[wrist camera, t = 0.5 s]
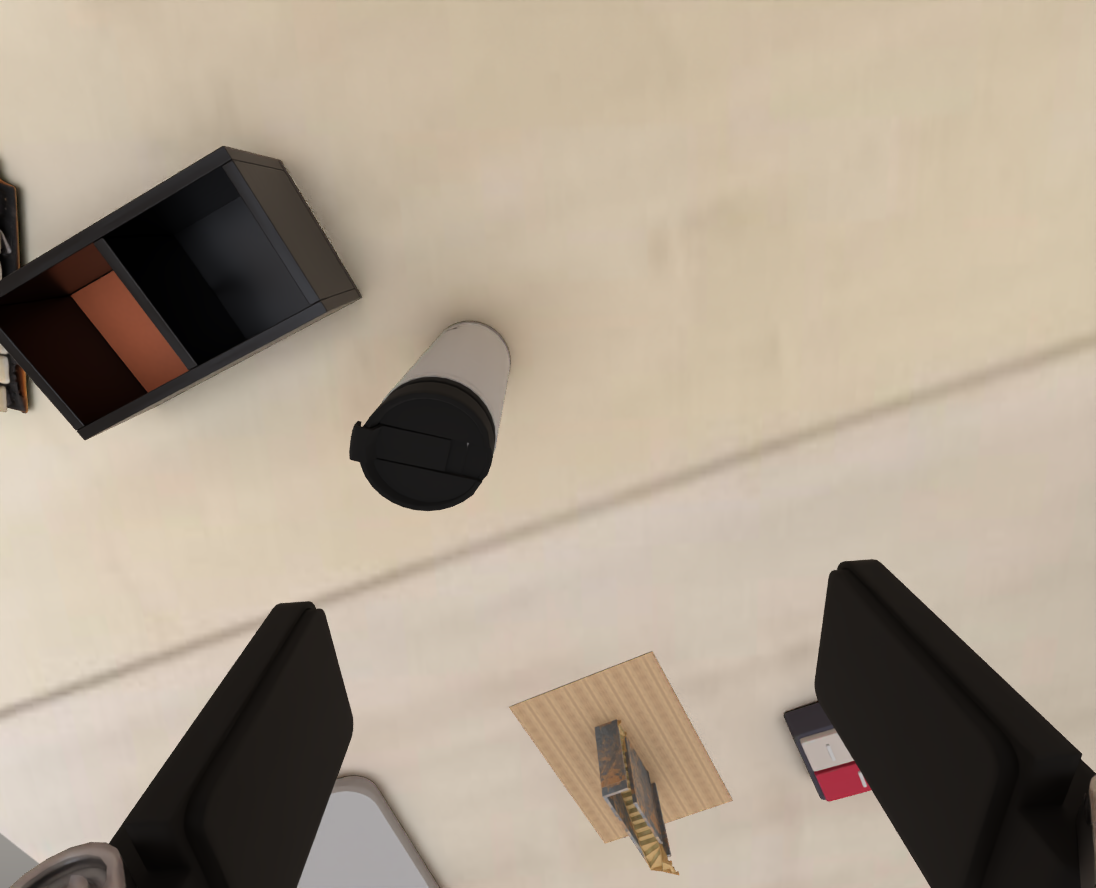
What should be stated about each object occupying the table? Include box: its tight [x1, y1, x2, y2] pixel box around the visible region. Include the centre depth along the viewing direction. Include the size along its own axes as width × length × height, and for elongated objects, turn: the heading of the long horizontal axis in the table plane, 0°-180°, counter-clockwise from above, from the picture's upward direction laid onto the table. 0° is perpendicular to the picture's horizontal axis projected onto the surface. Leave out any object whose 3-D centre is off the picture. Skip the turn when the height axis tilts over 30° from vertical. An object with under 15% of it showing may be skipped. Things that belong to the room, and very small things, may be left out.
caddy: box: [0, 146, 362, 440], centre depth 38 cm, size 10×20×8 cm, turn 116°
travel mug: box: [349, 321, 511, 511], centre depth 34 cm, size 6×7×20 cm
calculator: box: [784, 703, 871, 801], centre depth 58 cm, size 11×4×15 cm
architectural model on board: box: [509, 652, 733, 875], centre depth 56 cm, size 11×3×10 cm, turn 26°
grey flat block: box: [297, 776, 439, 888], centre depth 65 cm, size 16×26×2 cm, turn 17°
